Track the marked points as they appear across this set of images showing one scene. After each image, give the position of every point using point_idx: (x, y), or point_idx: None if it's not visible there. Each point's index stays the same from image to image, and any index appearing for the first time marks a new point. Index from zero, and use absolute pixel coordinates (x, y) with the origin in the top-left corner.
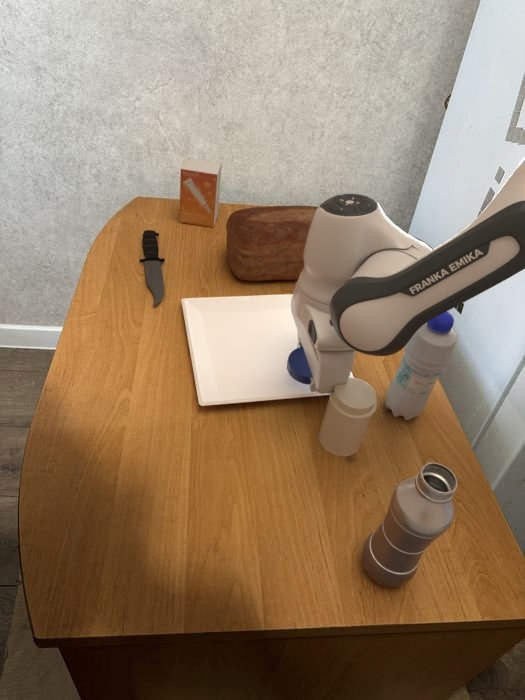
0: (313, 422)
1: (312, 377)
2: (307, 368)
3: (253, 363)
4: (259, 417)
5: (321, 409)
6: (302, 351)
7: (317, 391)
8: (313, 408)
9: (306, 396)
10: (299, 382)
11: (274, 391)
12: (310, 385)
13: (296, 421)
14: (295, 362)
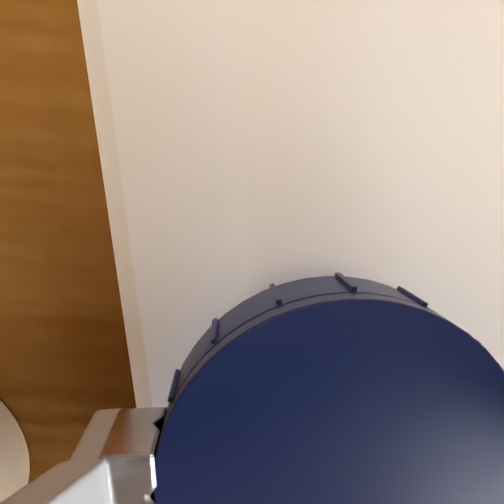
0: (19, 353)
1: (149, 475)
2: (263, 450)
3: (471, 68)
4: (37, 48)
5: (111, 407)
6: (473, 439)
7: None
8: (117, 370)
9: (129, 359)
10: None
11: (200, 164)
12: (106, 429)
13: (20, 266)
14: (347, 360)
